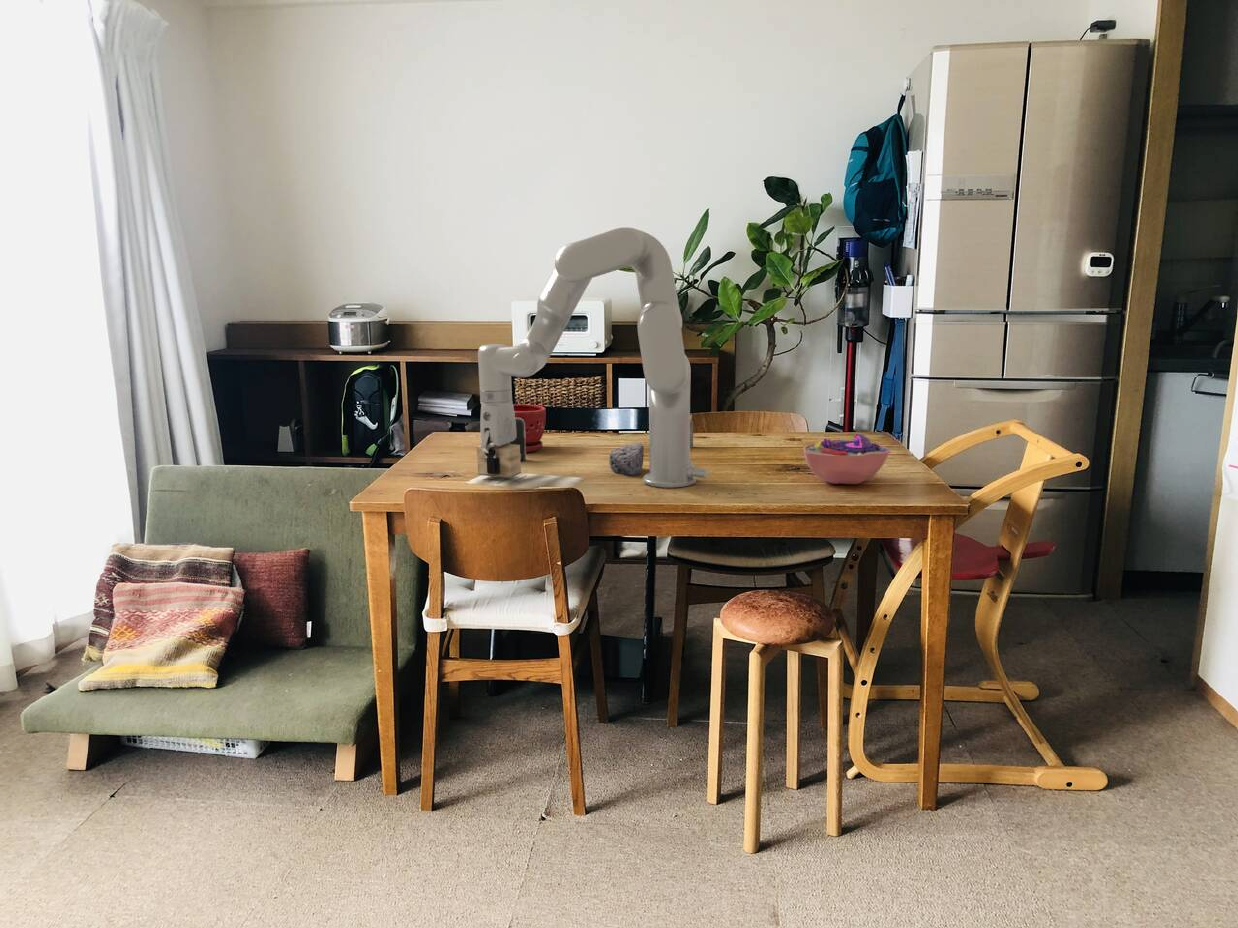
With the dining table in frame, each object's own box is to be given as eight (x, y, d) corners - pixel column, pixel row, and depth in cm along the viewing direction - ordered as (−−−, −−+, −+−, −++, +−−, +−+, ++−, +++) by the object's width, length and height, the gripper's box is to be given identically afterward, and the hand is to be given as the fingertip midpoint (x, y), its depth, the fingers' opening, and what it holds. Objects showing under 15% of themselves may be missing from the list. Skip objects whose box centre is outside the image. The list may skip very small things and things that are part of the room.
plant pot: (524, 456, 252) (522, 412, 250) (489, 451, 260) (487, 408, 257) (556, 448, 263) (555, 405, 260) (521, 442, 270) (520, 401, 268)
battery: (497, 463, 246) (495, 420, 243) (500, 459, 249) (498, 417, 247) (524, 463, 245) (522, 419, 243) (526, 459, 249) (525, 417, 246)
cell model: (793, 475, 228) (794, 429, 225) (874, 472, 229) (876, 426, 227) (812, 493, 212) (813, 443, 209) (899, 490, 213) (901, 440, 210)
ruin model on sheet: (693, 447, 262) (693, 413, 260) (691, 450, 259) (691, 415, 257) (653, 446, 264) (652, 412, 262) (651, 448, 261) (650, 414, 259)
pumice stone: (605, 484, 232) (639, 477, 226) (596, 454, 231) (630, 446, 225) (625, 474, 240) (658, 467, 235) (616, 445, 239) (650, 437, 234)
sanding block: (520, 473, 229) (519, 444, 228) (511, 477, 225) (510, 449, 223) (488, 470, 232) (486, 442, 231) (478, 475, 228) (476, 446, 226)
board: (586, 479, 228) (586, 478, 227) (563, 492, 216) (563, 491, 216) (491, 471, 237) (491, 470, 237) (464, 483, 225) (464, 482, 225)
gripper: (492, 403, 215) (496, 480, 219) (526, 392, 231) (529, 464, 235) (463, 401, 218) (467, 478, 222) (499, 390, 233) (502, 462, 237)
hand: (499, 470), depth 228 cm, fingers closed on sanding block, 5 cm apart
